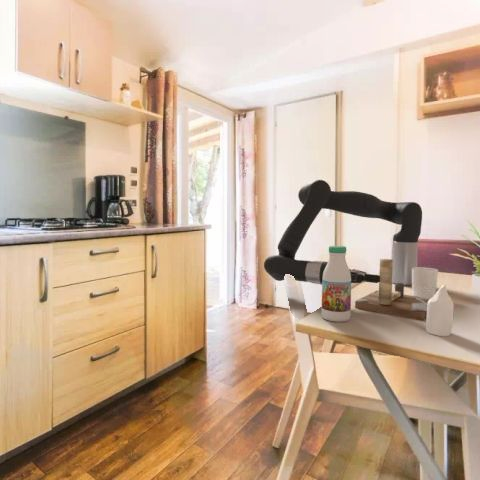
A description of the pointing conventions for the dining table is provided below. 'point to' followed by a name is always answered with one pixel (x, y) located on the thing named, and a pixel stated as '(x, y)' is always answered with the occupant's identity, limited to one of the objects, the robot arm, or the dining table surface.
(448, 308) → the white pointed cylinder
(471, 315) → the dining table surface
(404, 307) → the stool seat
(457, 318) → the dining table surface
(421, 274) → the white cup
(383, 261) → the hinged leg
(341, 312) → the milk bottle
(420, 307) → the corner bracket
